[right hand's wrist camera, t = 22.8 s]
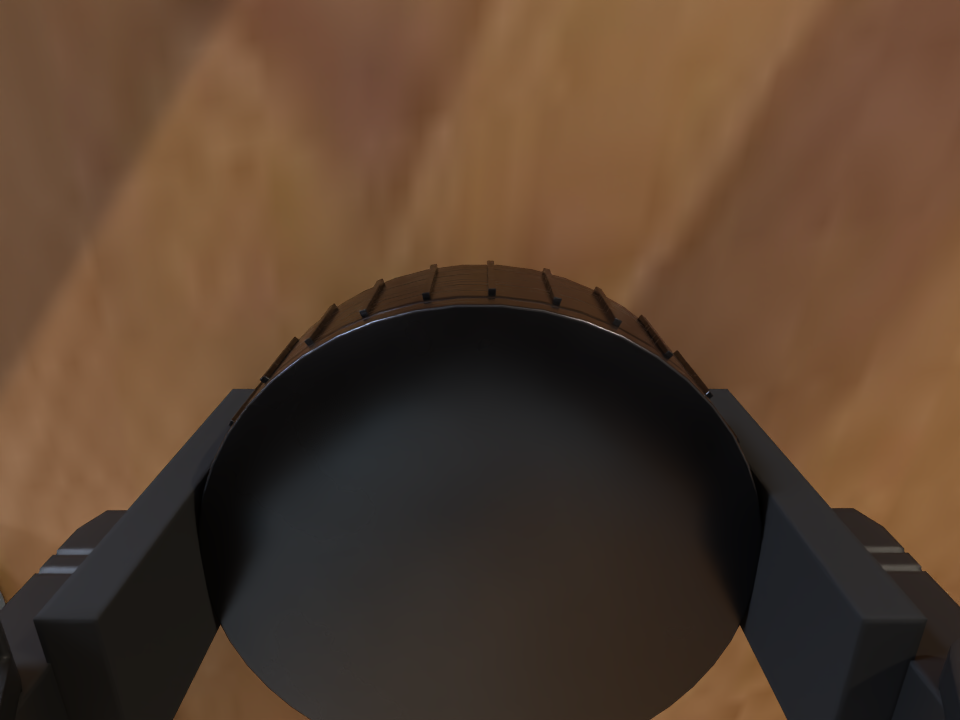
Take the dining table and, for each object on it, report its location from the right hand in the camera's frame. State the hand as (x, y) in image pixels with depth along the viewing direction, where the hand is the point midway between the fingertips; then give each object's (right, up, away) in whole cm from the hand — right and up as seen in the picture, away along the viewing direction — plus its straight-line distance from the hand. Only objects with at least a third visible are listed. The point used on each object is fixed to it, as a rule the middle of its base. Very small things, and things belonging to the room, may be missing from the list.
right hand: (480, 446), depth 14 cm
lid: (0, -1, -3) cm, 4 cm away
